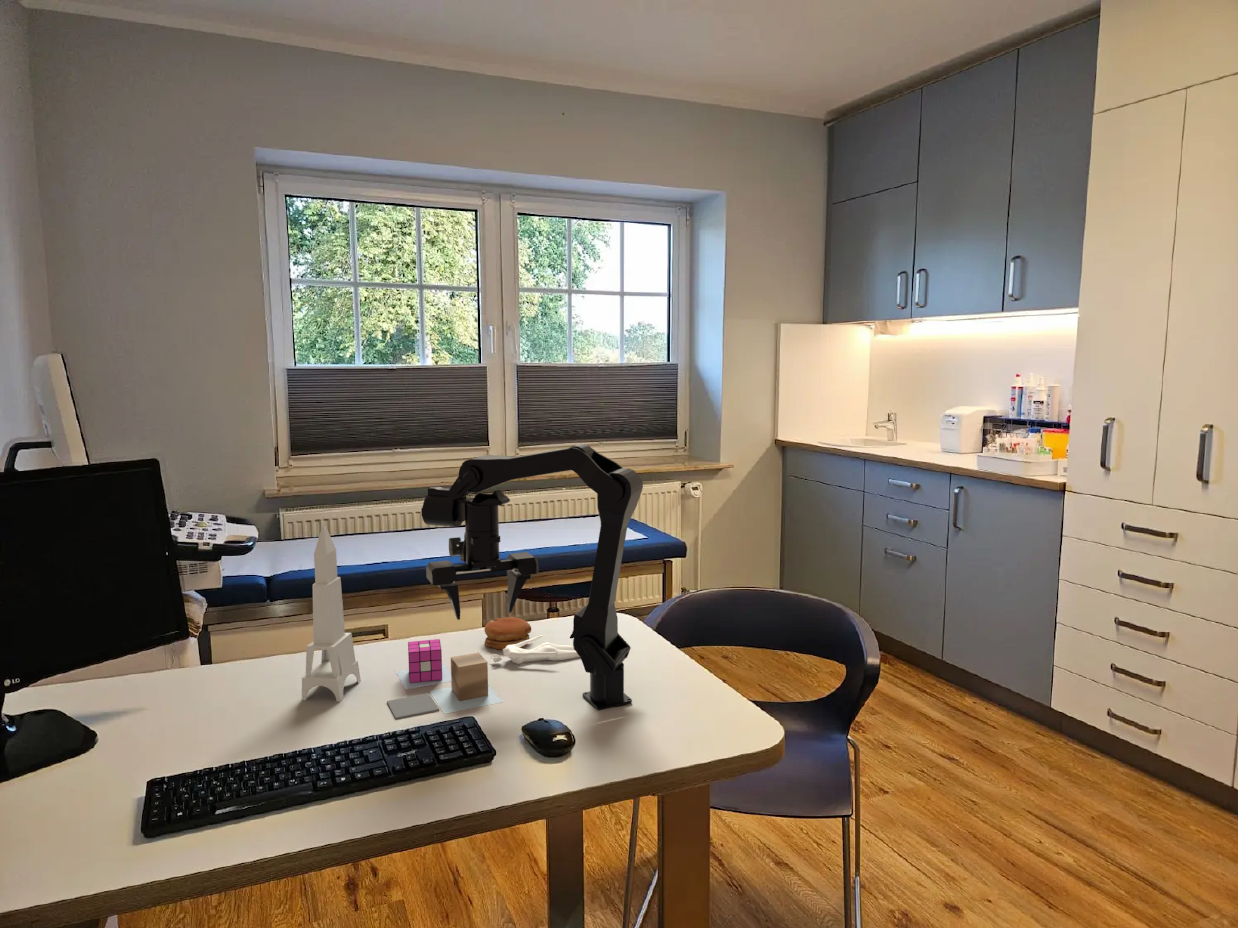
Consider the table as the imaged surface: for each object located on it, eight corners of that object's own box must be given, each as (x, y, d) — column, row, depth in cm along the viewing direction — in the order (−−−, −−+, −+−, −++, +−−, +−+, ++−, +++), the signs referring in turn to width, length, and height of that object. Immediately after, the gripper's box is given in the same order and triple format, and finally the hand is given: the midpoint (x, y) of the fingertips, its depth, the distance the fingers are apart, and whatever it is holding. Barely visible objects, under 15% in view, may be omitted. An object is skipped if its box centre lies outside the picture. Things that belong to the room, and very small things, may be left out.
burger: (524, 652, 159) (524, 629, 159) (478, 650, 160) (477, 628, 160) (535, 635, 169) (535, 614, 168) (492, 634, 170) (491, 612, 170)
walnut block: (488, 695, 139) (487, 661, 138) (459, 701, 136) (458, 667, 136) (479, 684, 143) (478, 652, 142) (451, 690, 141) (450, 657, 140)
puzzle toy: (409, 683, 144) (408, 652, 143) (409, 671, 149) (407, 641, 148) (442, 679, 145) (441, 649, 145) (440, 668, 151) (439, 638, 150)
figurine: (607, 649, 166) (486, 654, 158) (609, 632, 166) (487, 635, 157) (624, 668, 156) (496, 673, 148) (626, 649, 156) (497, 654, 148)
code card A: (503, 702, 136) (503, 701, 136) (444, 714, 132) (444, 713, 132) (485, 681, 145) (485, 680, 145) (429, 691, 141) (429, 690, 141)
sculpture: (361, 681, 145) (353, 517, 141) (340, 701, 137) (332, 527, 133) (324, 680, 145) (315, 516, 141) (301, 699, 137) (292, 526, 133)
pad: (439, 711, 133) (439, 708, 133) (395, 719, 130) (395, 717, 130) (428, 695, 139) (428, 692, 139) (387, 703, 136) (387, 700, 136)
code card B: (456, 680, 145) (456, 679, 145) (405, 689, 141) (405, 689, 141) (443, 663, 153) (443, 662, 153) (395, 671, 149) (395, 671, 149)
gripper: (519, 515, 152) (520, 596, 154) (418, 524, 144) (421, 609, 146) (539, 527, 142) (540, 613, 144) (431, 537, 134) (434, 628, 136)
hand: (484, 615), depth 143 cm, fingers open, 9 cm apart
